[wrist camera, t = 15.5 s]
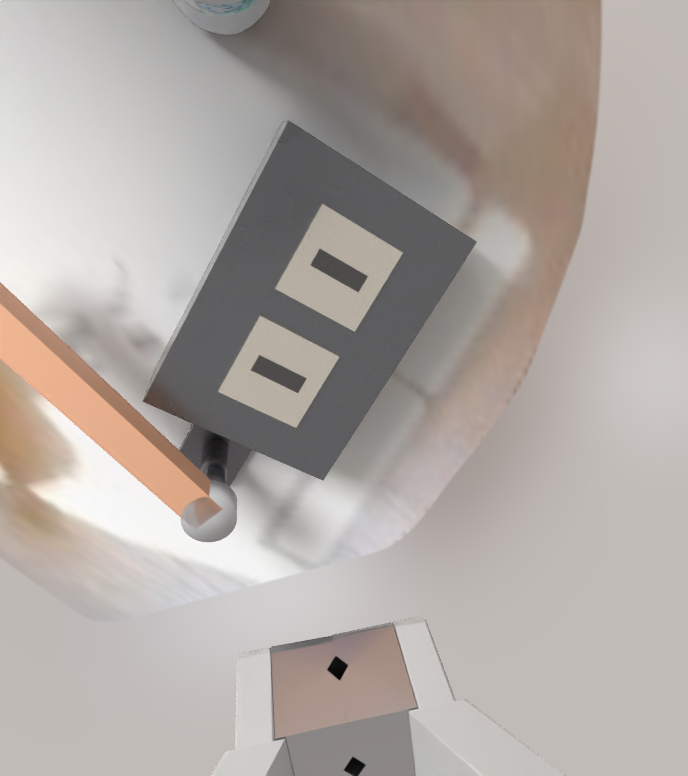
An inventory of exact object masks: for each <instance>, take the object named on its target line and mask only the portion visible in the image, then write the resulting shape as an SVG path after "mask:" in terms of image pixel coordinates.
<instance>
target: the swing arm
mask: <svg viewBox="0 0 688 776" xmlns="http://www.w3.org/2000/svg"><path fill="white" fill-rule="evenodd" d="M0 359H1V360H3V361H4V362H5V363H6V364H7V365H8V366H9V367H10V368H12V369H13V370H14V371H15V372H16V373H17V374H18V375H20V376H21V377H22V378H23V379H24V380H25V381H26V382H28V383H29V384H30V385H31V386H32V387H33V388H34V389H35V390H37V391H38V392H39V393H40V394H41V395H42V396H43V397H45V398H46V399H47V400H48V401H49V402H50V403H51V404H53V405H54V406H55V407H56V408H57V409H58V410H59V411H60V412H62V413H63V414H64V415H65V416H66V417H67V418H68V419H70V420H71V421H72V422H73V423H74V424H75V425H76V426H78V427H79V428H80V429H81V430H82V431H83V432H84V433H85V434H87V435H88V436H89V437H90V438H91V439H92V440H93V441H95V442H96V443H97V444H98V445H99V446H100V447H101V448H103V449H104V450H105V451H106V452H107V453H108V454H109V455H110V456H112V457H113V458H114V459H115V460H116V461H117V462H118V463H120V464H121V465H122V466H123V467H124V468H125V469H126V470H128V471H129V472H130V473H131V474H132V475H133V476H134V477H135V478H137V479H138V480H139V481H140V482H141V483H142V484H143V485H145V486H146V487H147V488H148V489H149V490H150V491H151V492H153V493H154V494H155V495H156V496H157V497H158V498H159V499H160V500H162V501H163V502H164V503H165V504H166V505H167V506H168V507H170V508H171V509H172V510H173V511H174V512H175V513H176V514H178V515H179V516H180V517H181V525H182V528H183V529H184V531H185V532H186V533H187V534H188V535H189V536H190V537H192V538H193V539H195V540H198V541H202V542H215V541H218V540H221V539H223V538H225V537H227V536H228V535H229V534H230V533H231V532H232V531H233V529H234V527H235V525H236V520H237V498H236V495H235V493H234V491H233V490H232V489H231V488H230V487H229V486H228V485H226V484H225V483H223V482H220V481H215V480H210V479H209V478H208V477H207V476H206V475H205V474H203V473H202V472H201V471H200V470H199V469H198V468H197V467H196V466H195V465H194V464H193V463H192V462H191V461H190V460H189V459H188V458H186V457H185V456H184V455H183V454H182V453H181V452H180V451H179V450H178V449H177V448H176V447H175V446H174V445H173V444H172V443H171V442H169V441H168V440H167V439H166V438H165V437H164V436H163V435H162V434H161V433H160V432H159V431H158V430H157V429H156V428H155V427H154V426H152V425H151V424H150V423H149V422H148V421H147V420H146V419H145V418H144V417H143V416H142V415H141V414H140V413H139V412H138V411H137V410H135V409H134V408H133V407H132V406H131V405H130V404H129V403H128V402H127V401H126V400H125V399H124V398H123V397H122V396H121V395H120V394H118V393H117V392H116V391H115V390H114V389H113V388H112V387H111V386H110V385H109V384H108V383H107V382H106V381H105V380H104V379H102V378H101V377H100V376H99V375H98V374H97V373H96V372H95V371H94V370H93V369H92V368H91V367H90V366H89V365H88V364H87V363H85V362H84V361H83V360H82V359H81V358H80V357H79V356H78V355H77V354H76V353H75V352H74V351H73V350H72V349H71V348H70V347H68V346H67V345H66V344H65V343H64V342H63V341H62V340H61V339H60V338H59V337H58V336H57V335H56V334H55V333H54V332H53V331H51V330H50V329H49V328H48V327H47V326H46V325H45V324H44V323H43V322H42V321H41V320H40V319H39V318H38V317H37V316H36V315H34V314H33V313H32V312H31V311H30V310H29V309H28V308H27V307H26V306H25V305H24V304H23V303H22V302H21V301H20V300H19V299H17V298H16V297H15V296H14V295H13V294H12V293H11V292H10V291H9V290H8V289H7V288H6V287H5V286H4V285H3V284H2V283H0Z"/></svg>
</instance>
